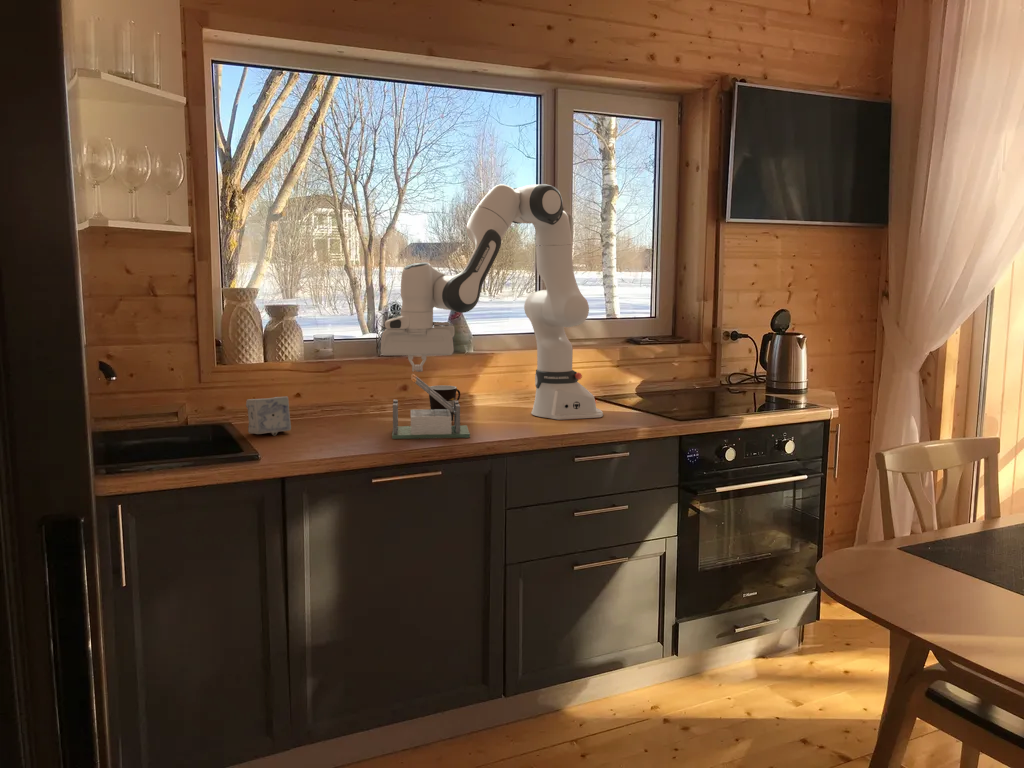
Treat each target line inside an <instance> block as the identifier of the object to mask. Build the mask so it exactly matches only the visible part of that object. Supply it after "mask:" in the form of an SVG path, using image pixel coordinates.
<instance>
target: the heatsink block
mask: <svg viewBox="0 0 1024 768" xmlns="http://www.w3.org/2000/svg"><path fill="white" fill-rule="evenodd" d="M398 401H399V400H398V399H393V401H392V432H391V433H392V434H391V436H392V437H391V439H392V440H406V439H407V440H409V439H410V440H411V439H416V440H417V439H419V438H420V439H462V438H463V439H464V438H465V439H468V438H471V433H470V431H469V428H468V425H467V424H465V425H464V424H463V425H461V405H460V402H459V400H458V401H456V400H455V401H454V406H452V408H453V413H454V417H453V424H454V425H452V421H451V413H450V411H449V410H448V409H431V408H430V409H410V425H403V426H399V409H398V408H399V402H398ZM420 439H419V440H420Z"/></svg>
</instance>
